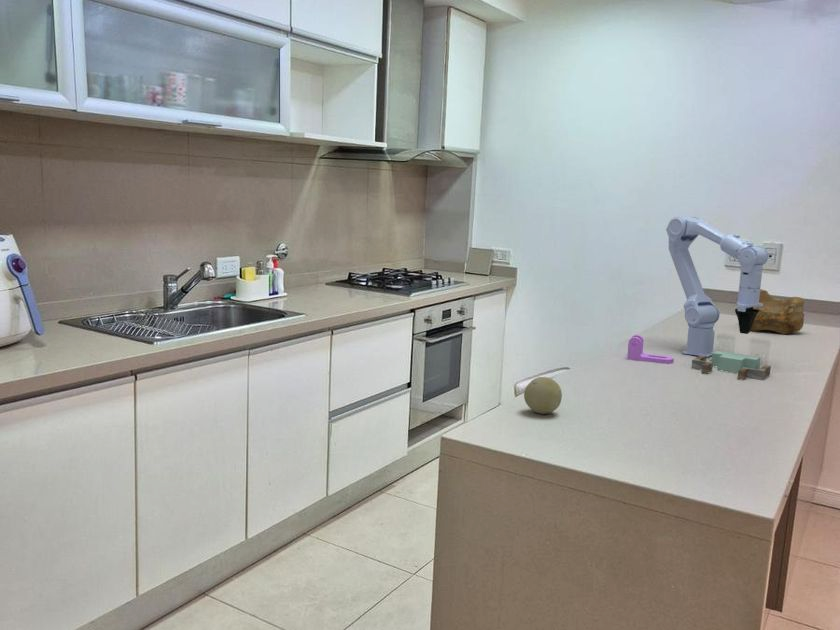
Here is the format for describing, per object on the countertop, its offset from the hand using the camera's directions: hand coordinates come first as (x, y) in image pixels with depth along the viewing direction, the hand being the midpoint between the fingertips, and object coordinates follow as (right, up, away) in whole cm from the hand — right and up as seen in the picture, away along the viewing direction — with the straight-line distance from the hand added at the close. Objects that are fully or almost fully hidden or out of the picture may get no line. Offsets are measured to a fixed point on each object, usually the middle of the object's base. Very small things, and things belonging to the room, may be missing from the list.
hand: (744, 333), depth 210 cm
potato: (-69, -17, -53) cm, 89 cm away
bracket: (-27, -9, +3) cm, 28 cm away
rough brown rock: (+35, -1, +60) cm, 69 cm away
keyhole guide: (-9, -11, -10) cm, 17 cm away
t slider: (-6, -10, -6) cm, 13 cm away
